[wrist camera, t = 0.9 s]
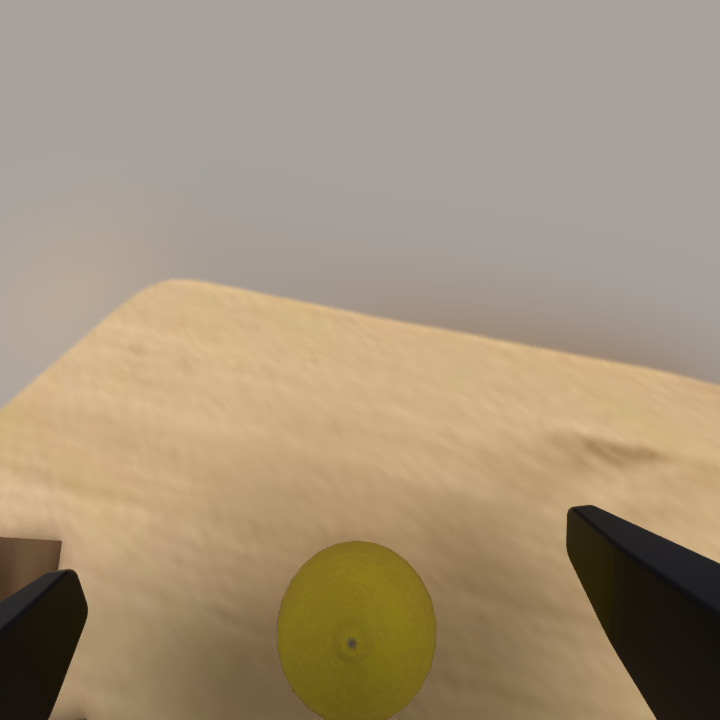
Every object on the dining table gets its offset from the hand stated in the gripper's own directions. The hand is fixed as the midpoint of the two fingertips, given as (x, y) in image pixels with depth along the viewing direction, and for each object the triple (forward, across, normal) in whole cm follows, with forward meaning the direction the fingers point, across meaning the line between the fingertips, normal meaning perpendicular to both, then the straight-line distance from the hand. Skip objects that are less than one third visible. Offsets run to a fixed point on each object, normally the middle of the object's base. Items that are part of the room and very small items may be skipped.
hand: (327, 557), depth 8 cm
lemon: (+9, 0, +11) cm, 14 cm away
